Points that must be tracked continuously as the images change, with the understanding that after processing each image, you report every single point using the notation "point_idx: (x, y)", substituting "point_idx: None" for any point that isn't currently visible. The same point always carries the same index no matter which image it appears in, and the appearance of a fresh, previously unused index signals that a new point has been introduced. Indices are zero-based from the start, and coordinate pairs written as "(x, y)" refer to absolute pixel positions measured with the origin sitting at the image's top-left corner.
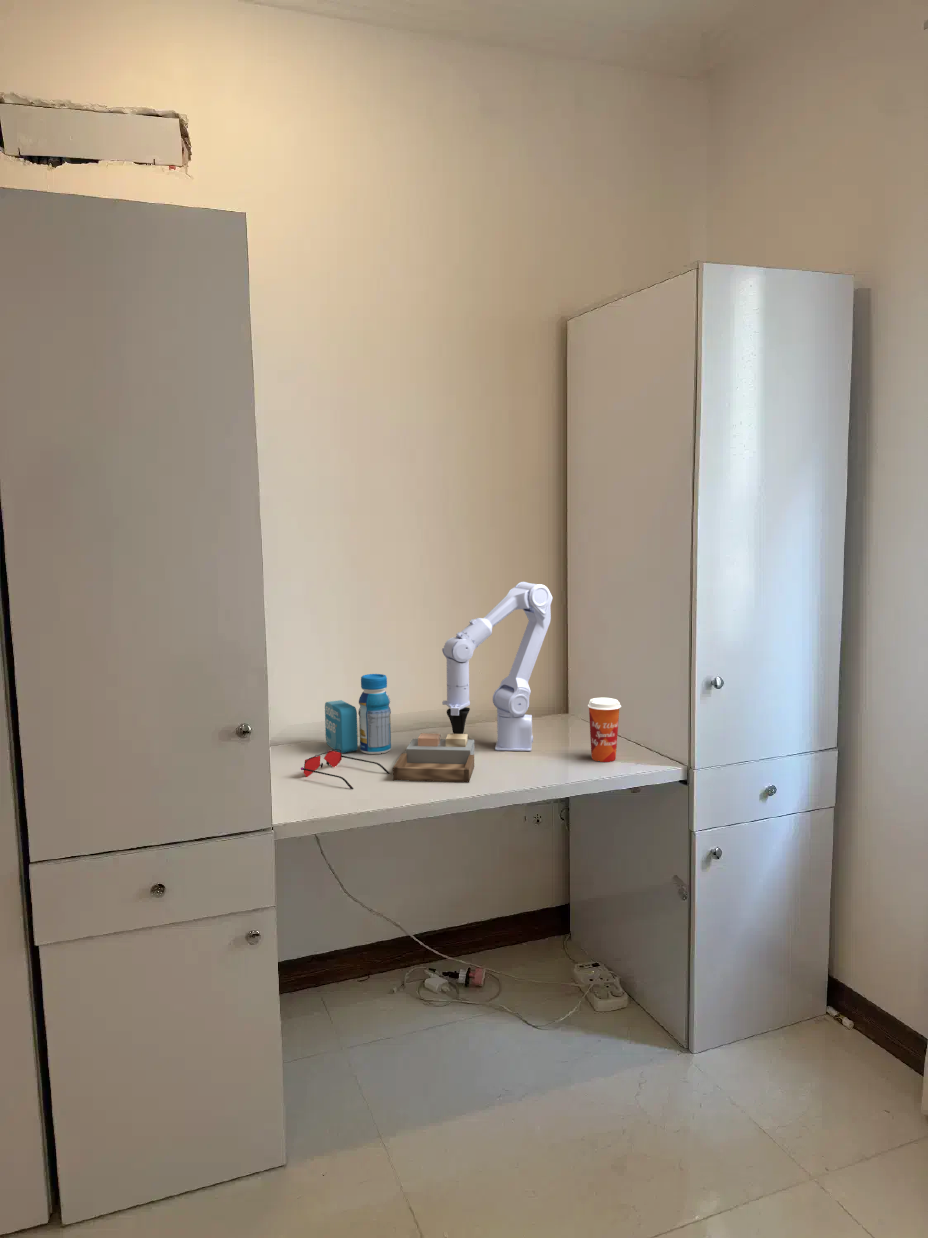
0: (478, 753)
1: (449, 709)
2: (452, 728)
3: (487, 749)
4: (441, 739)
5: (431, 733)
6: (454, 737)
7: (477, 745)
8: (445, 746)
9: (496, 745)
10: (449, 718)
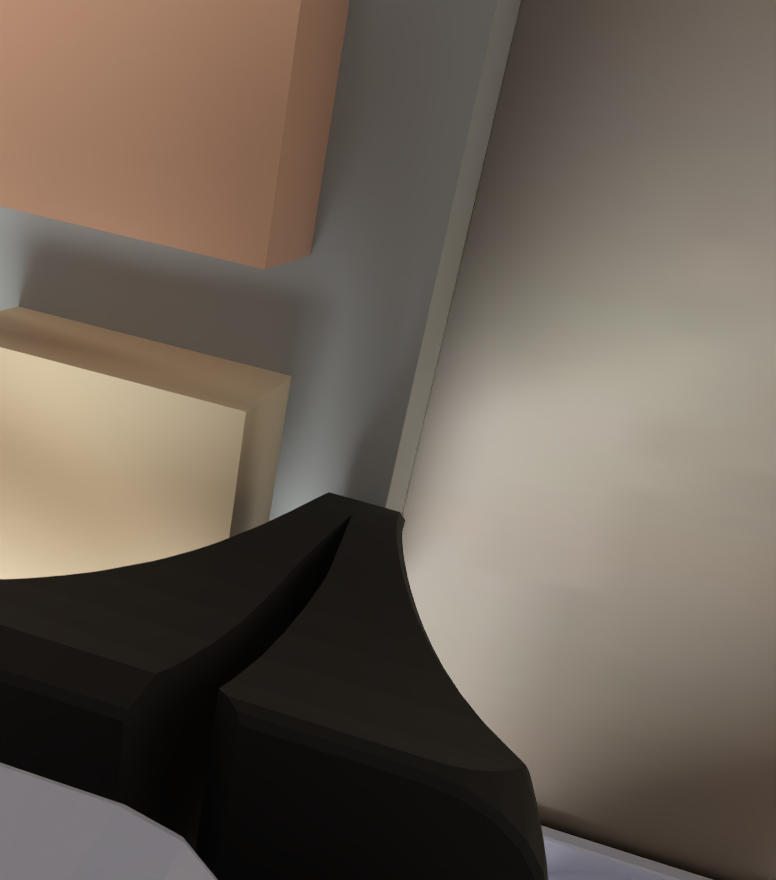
0: (434, 650)
1: (307, 792)
2: (252, 528)
3: (567, 758)
4: (407, 281)
5: (279, 75)
6: (12, 478)
7: (761, 710)
8: (22, 304)
9: (608, 864)
10: (51, 581)
